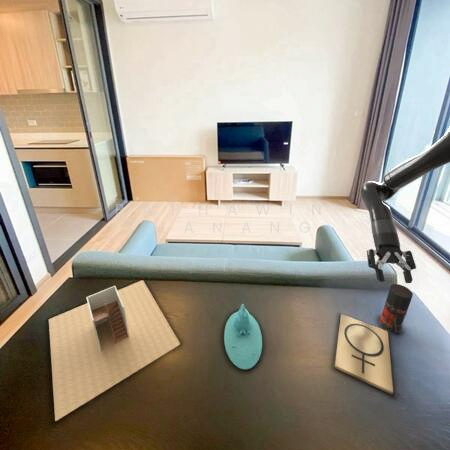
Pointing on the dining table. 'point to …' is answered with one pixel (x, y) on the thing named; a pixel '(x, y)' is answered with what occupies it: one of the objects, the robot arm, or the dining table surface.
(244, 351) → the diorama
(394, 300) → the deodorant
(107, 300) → the staircase
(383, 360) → the sketch board
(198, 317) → the dining table surface
